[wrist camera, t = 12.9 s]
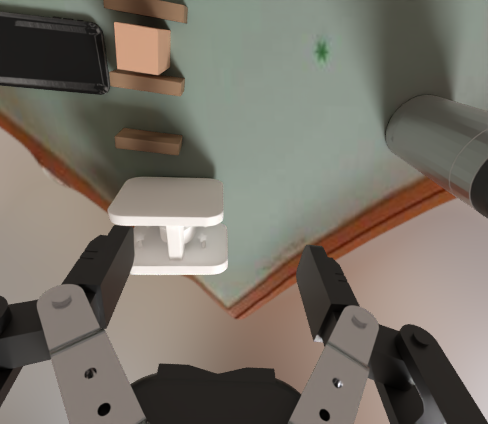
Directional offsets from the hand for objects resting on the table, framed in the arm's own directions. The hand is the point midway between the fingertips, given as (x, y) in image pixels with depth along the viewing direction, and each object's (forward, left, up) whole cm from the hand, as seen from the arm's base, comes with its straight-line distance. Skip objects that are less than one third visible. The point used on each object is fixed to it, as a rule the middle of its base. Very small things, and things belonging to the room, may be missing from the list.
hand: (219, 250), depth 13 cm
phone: (+22, -3, -31) cm, 38 cm away
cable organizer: (+5, +16, -31) cm, 35 cm away
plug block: (+9, -6, -30) cm, 32 cm away
